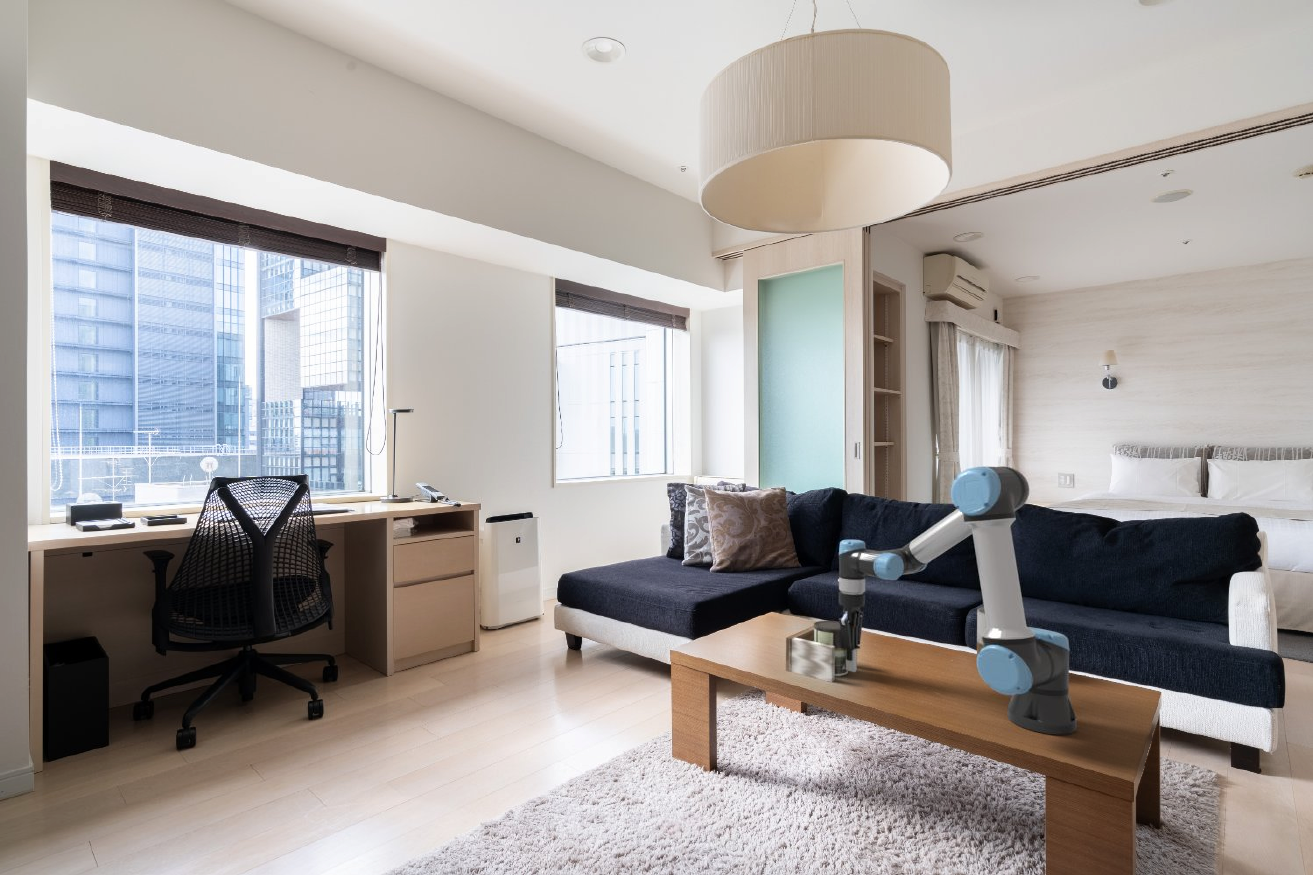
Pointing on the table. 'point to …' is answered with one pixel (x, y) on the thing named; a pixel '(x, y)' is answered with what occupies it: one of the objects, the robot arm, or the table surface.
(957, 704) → the table surface
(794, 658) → the holder
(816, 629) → the coffee can
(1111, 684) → the table surface
